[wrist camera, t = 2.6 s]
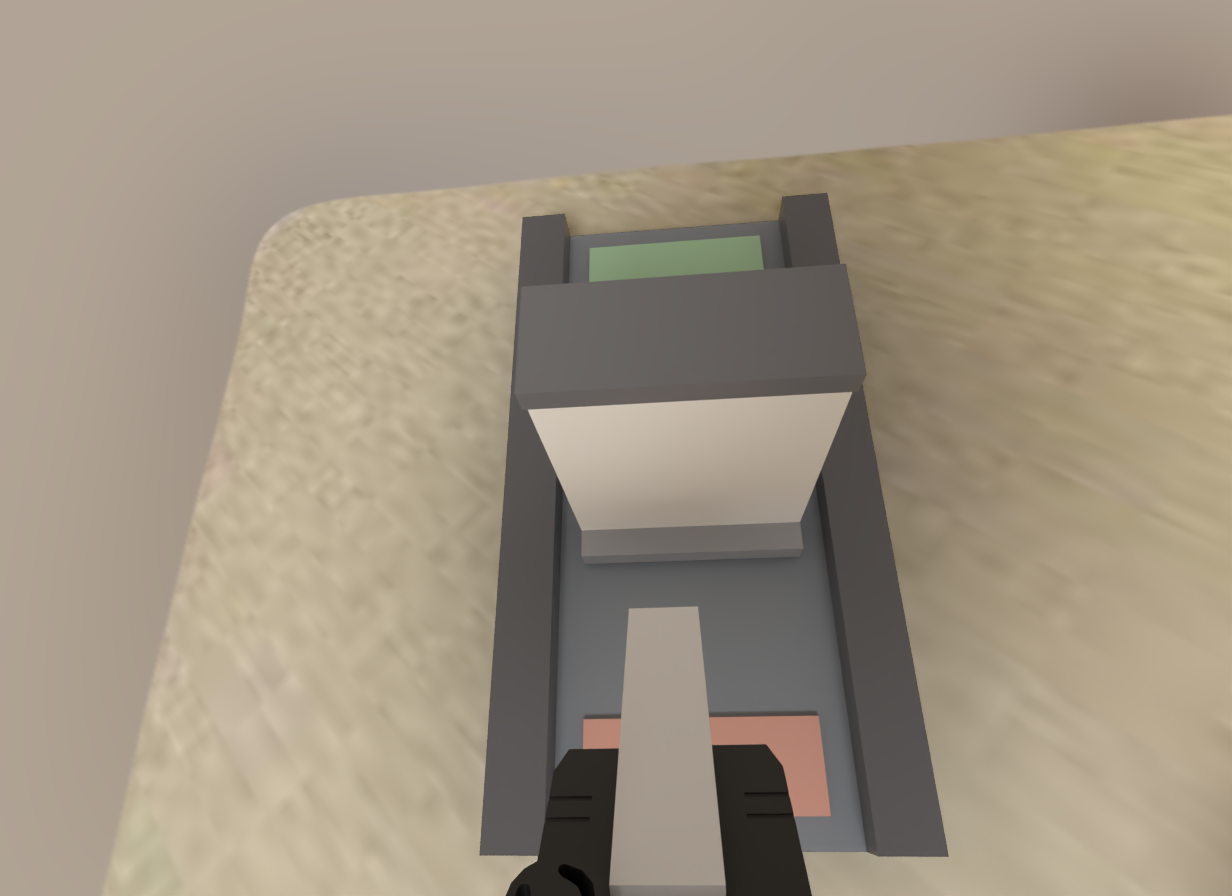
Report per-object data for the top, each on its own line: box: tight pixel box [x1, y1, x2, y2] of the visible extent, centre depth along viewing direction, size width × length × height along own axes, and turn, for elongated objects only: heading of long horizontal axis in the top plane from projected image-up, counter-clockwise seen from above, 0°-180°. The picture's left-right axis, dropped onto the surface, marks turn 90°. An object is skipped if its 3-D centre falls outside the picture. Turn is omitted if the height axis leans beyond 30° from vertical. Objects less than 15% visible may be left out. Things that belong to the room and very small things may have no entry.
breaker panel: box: [480, 193, 949, 857], centre depth 28 cm, size 26×14×4 cm, turn 1°
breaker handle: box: [515, 264, 866, 564], centre depth 22 cm, size 5×8×11 cm, turn 90°
